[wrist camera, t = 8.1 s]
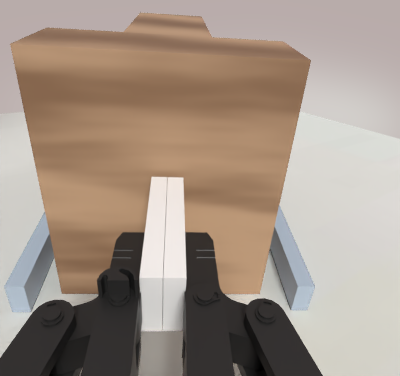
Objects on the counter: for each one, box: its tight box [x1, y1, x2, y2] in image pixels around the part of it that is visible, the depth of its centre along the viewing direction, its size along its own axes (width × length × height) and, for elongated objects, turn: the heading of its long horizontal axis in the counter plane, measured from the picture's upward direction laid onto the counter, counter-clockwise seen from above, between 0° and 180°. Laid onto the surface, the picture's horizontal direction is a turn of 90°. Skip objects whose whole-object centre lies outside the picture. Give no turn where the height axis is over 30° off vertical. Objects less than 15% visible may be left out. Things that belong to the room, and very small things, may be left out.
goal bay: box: [4, 206, 315, 312], centre depth 27 cm, size 18×17×2 cm
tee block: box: [10, 13, 311, 294], centre depth 24 cm, size 14×12×14 cm
